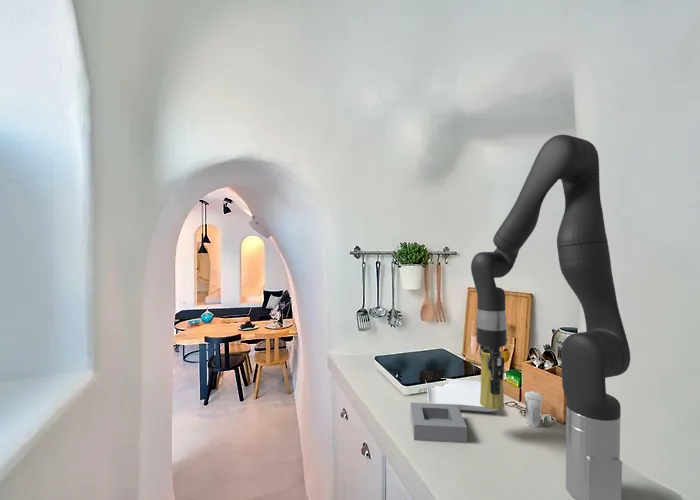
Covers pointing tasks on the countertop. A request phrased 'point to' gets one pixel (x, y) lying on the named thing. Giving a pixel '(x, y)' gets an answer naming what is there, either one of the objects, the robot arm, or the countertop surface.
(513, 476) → the countertop surface
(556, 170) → the robot arm
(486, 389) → the vase
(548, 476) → the countertop surface
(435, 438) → the block
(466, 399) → the salad plate
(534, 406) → the milkshake
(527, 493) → the countertop surface
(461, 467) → the countertop surface
